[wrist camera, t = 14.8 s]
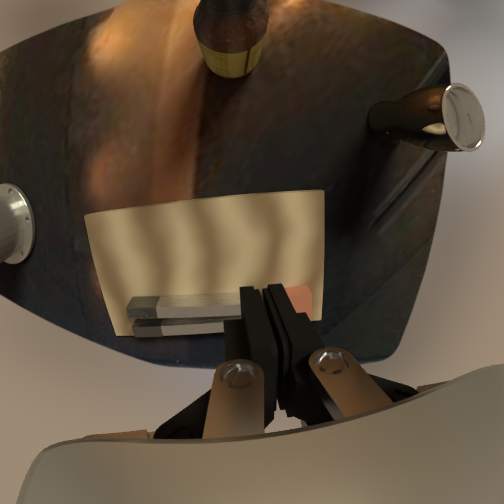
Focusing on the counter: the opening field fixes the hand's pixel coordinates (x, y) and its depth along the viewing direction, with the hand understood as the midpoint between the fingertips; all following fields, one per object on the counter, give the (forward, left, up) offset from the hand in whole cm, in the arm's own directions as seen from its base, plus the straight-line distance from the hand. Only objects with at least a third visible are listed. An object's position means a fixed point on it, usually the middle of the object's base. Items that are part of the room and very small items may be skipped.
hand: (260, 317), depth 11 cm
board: (-5, -8, -24) cm, 26 cm away
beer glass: (+20, +10, -24) cm, 33 cm away
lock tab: (+7, -13, -23) cm, 27 cm away
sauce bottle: (0, +18, -24) cm, 30 cm away
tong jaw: (-8, -11, -23) cm, 26 cm away
